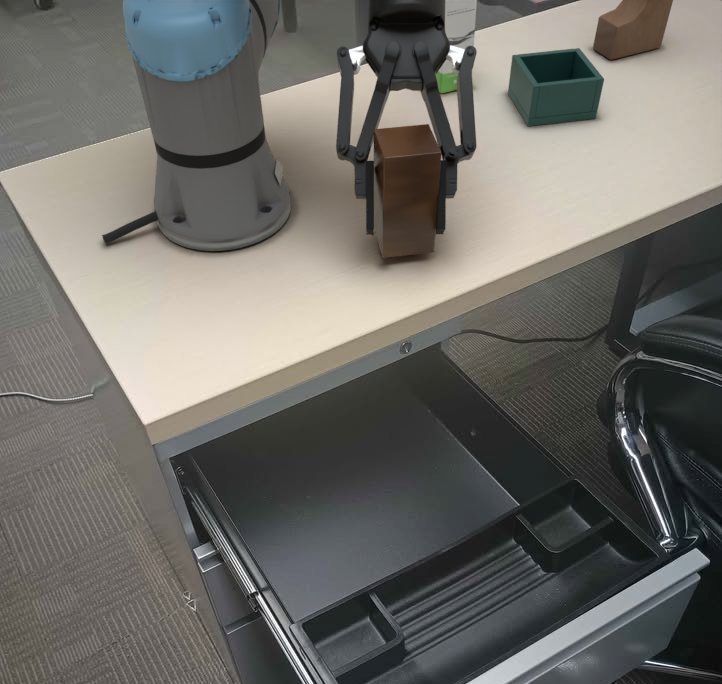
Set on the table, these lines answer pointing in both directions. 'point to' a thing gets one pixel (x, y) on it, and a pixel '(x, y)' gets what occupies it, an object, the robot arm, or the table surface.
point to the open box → (555, 86)
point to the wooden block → (632, 28)
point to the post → (405, 189)
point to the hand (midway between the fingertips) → (405, 231)
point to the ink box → (456, 37)
